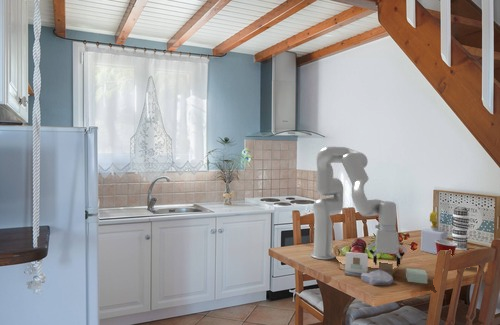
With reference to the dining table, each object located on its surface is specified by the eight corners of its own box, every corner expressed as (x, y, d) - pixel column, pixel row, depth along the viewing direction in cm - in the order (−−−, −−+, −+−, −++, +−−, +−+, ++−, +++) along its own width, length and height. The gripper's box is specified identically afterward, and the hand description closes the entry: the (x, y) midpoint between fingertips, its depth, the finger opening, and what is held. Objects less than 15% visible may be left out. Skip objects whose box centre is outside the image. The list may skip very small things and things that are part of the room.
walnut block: (378, 273, 187) (378, 260, 186) (391, 274, 185) (391, 261, 185) (378, 276, 181) (378, 264, 181) (392, 278, 179) (392, 265, 179)
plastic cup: (457, 268, 196) (458, 245, 196) (433, 265, 201) (434, 242, 200) (456, 263, 206) (457, 240, 205) (433, 260, 210) (434, 238, 210)
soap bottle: (446, 254, 224) (448, 213, 223) (440, 255, 220) (442, 214, 219) (426, 249, 234) (427, 210, 233) (420, 251, 230) (421, 211, 229)
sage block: (406, 276, 183) (406, 268, 183) (424, 278, 181) (425, 270, 181) (407, 282, 175) (408, 273, 175) (427, 284, 173) (427, 275, 173)
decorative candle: (447, 247, 239) (449, 206, 238) (455, 245, 245) (456, 205, 244) (463, 251, 232) (464, 208, 231) (470, 248, 238) (472, 207, 237)
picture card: (345, 271, 188) (345, 250, 188) (367, 273, 185) (367, 252, 185) (344, 275, 182) (345, 253, 182) (367, 277, 179) (367, 255, 179)
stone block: (394, 287, 173) (378, 276, 181) (396, 277, 172) (379, 266, 180) (375, 292, 167) (358, 280, 176) (376, 282, 166) (360, 271, 175)
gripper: (367, 228, 181) (367, 265, 181) (407, 230, 176) (407, 268, 176) (367, 225, 188) (367, 261, 188) (406, 228, 183) (405, 264, 184)
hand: (386, 265), depth 182 cm, fingers open, 9 cm apart
